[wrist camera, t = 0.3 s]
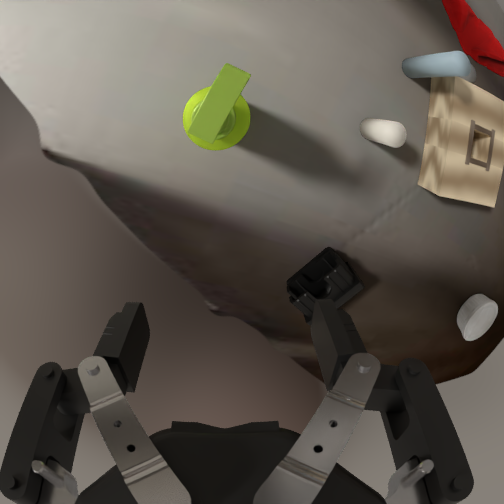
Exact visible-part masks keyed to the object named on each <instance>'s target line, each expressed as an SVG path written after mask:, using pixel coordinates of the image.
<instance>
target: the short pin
mask: <svg viewBox="0 0 504 504" xmlns="http://www.w3.org/2000/svg"><path fill="white" fill-rule="evenodd" d="M458 77H460V78H462V79H464V80H466V81H468V82H474V81H475V80H476V71H475V68H474V67H473V65H472V64H471V72H470V74H469V75H468V76H458Z"/></svg>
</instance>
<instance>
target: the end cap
mask: <svg viewBox="0 0 504 504" xmlns="http://www.w3.org/2000/svg"><path fill="white" fill-rule="evenodd" d="M287 285H288V286H287V293H289V294H290V295H291V296H290V297H289V298H290V302H291V303H292V304H293V305H294V306H295V307H297V308H298V309H299V310H300V311H301V312H302V313H303V314H304V317H305V320H306V323H307V324H309V325H311V323H312V317H313V310H314V304H315V301H316V300H324V299H332V300H333V302H334V305H335V307H336V309H338V308H339V307H341V306H342V305H343V304H345V303H346V302H347V301H348V300H350V299H351V298H352V297H353V296H355V295H356V294H357V293H358V292H360V291H361V290H362V289H363V288H364V287H365V286H364V284H363V282H362V280H361V279H360V278H359V276H358V275H357V273H356V272H355V271H354V270H353V268H352V267H351V266H350V265H349V263H348V262H345V263H344V261H343V260H342V259H341V258H340V257H339V256H338V255H337V254H336V253H335V252H334V250H333V249H332V248H331V247H327V248H325V249H324V250H323V251H322V252H321V253H319V254H318V255H317V256H316V257H315V258H313V259H312V260H311V261H310V262H309V263H307V264H306V265H305V266H304V267H303V268H301V269H300V270H299V271H298V272H297V273H295V274H294V275H293V276H292V277H291V278H289V279H288V280H287Z"/></svg>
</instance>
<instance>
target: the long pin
mask: <svg viewBox="0 0 504 504" xmlns="http://www.w3.org/2000/svg"><path fill="white" fill-rule="evenodd" d="M402 69H403V72H404V73H405V75H406V76H408V77H409V78H426V77H453V76H468V75H469V74H470V72H471V64H470V61H469V59H468V57H467V56H466V55H465V54H464V53H463V52H461V51H452V52H444V53H437V54H430V55H424V56H418V57H413V58H408V59H405V60H404V61H403V63H402Z"/></svg>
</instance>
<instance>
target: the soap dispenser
mask: <svg viewBox="0 0 504 504" xmlns="http://www.w3.org/2000/svg"><path fill="white" fill-rule="evenodd" d="M250 77H251V74H249V73H247V72H245V71H243V70H241V69H239V68H236V67H234V66H232V65H230V64H228V63H226V64H225V65H224V67H223V68H222V70H221V71H220V73H219V75H218V76H217V78H216V79H215V81H214V83H213V84H212V86H211V87H207V88H204V89H202V90H200V91H198V92H197V93H195V94H194V95H193V96H192V97H191V98H190V100H189V101H188V103H187V104H186V106H185V109H184V113H183V125H184V129H185V131H186V133H187V135H188V137H189V138H190V139H191V140H192V141H193V142H194V143H195V144H196V145H198V146H200V147H202V148H205V149H208V150H223V149H227V148H230V147H232V146H234V145H235V144H237V143H238V142H239V141H240V140H241V139H242V138H243V137H244V136H245V134H246V132H247V130H248V128H249V125H250V110H249V107H248V104H247V102H246V101H245V99H244V98H243V97H242V96H241V95H240V94H241V92H242V90H243V89H244V87H245V85H246V84H247V82H248V80H249V78H250Z"/></svg>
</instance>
